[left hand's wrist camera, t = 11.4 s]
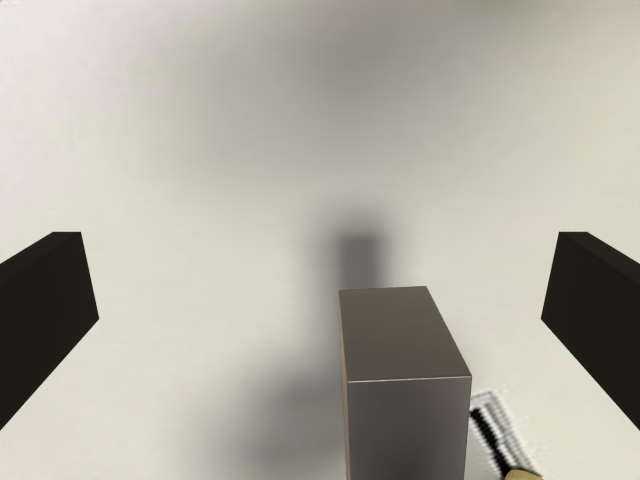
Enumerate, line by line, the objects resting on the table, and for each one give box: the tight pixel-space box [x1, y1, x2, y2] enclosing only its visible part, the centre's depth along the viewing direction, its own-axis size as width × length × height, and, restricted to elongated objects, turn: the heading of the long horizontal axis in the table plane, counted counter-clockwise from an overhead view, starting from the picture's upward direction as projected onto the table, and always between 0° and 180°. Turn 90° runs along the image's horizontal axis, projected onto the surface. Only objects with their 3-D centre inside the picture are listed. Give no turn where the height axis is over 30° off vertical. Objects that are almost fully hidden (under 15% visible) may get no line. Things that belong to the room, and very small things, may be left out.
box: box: [338, 286, 472, 480], centre depth 30 cm, size 21×6×10 cm, turn 3°
